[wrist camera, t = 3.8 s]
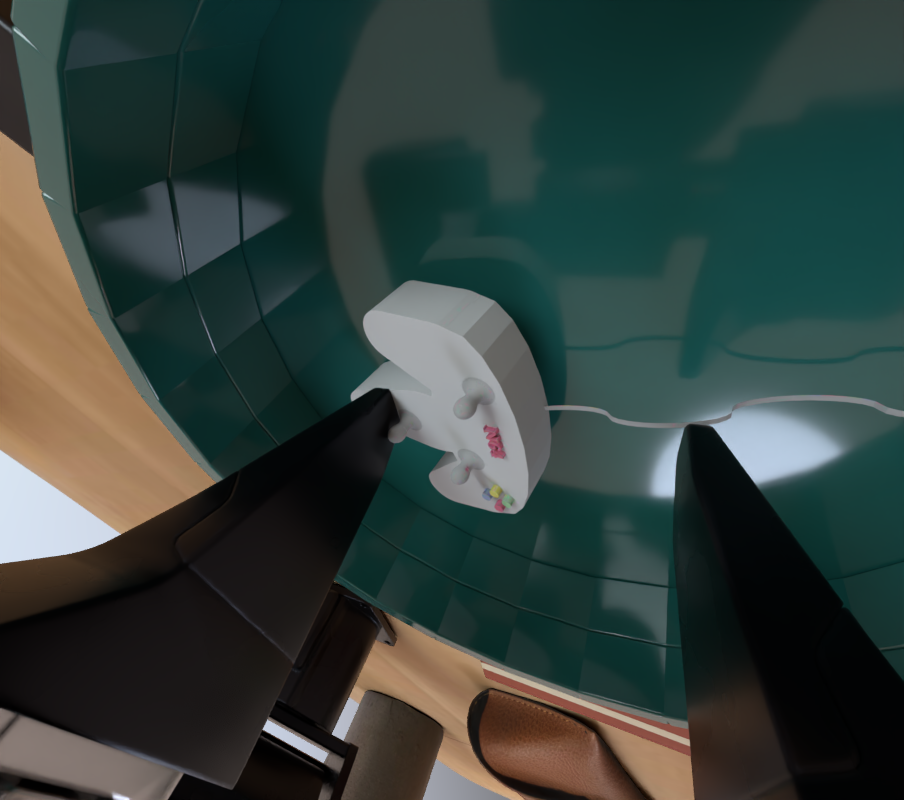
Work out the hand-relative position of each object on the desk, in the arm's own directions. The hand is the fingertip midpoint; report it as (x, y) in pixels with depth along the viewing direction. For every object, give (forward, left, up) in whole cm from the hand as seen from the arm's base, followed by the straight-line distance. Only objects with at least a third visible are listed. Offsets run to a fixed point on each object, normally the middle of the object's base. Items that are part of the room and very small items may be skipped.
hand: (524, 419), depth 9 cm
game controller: (0, -2, -1) cm, 2 cm away
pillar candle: (-50, +16, -2) cm, 53 cm away
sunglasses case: (-35, -2, -2) cm, 35 cm away
